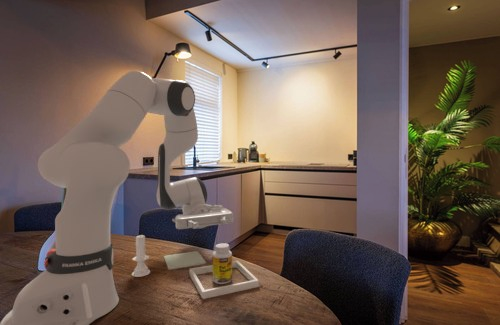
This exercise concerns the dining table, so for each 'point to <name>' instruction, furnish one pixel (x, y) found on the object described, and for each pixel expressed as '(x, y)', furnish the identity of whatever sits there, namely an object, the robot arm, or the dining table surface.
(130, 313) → the dining table surface
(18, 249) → the dining table surface
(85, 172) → the robot arm
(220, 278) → the supplement bottle
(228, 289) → the white square frame
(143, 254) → the candle
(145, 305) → the dining table surface
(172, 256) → the mat
